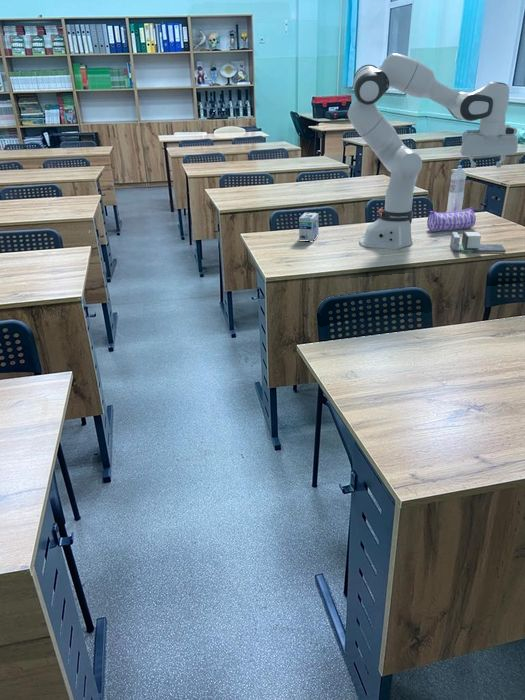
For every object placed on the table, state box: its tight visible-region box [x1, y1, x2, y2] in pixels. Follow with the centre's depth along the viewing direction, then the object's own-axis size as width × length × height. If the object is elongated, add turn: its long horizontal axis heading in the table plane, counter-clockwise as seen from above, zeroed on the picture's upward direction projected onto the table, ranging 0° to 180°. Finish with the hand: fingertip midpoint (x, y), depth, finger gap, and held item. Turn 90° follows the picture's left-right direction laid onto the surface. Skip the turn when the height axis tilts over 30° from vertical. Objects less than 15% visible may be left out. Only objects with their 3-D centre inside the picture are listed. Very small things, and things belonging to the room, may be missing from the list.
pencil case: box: [426, 207, 477, 233], centre depth 239 cm, size 22×9×10 cm, turn 106°
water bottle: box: [446, 165, 467, 212], centre depth 252 cm, size 7×7×25 cm
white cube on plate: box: [461, 230, 482, 249], centre depth 212 cm, size 6×8×5 cm, turn 170°
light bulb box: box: [298, 212, 320, 241], centre depth 234 cm, size 11×7×11 cm, turn 161°
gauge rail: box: [449, 231, 506, 254], centre depth 212 cm, size 20×8×6 cm, turn 80°
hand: (485, 167), depth 205 cm, fingers open, 8 cm apart
